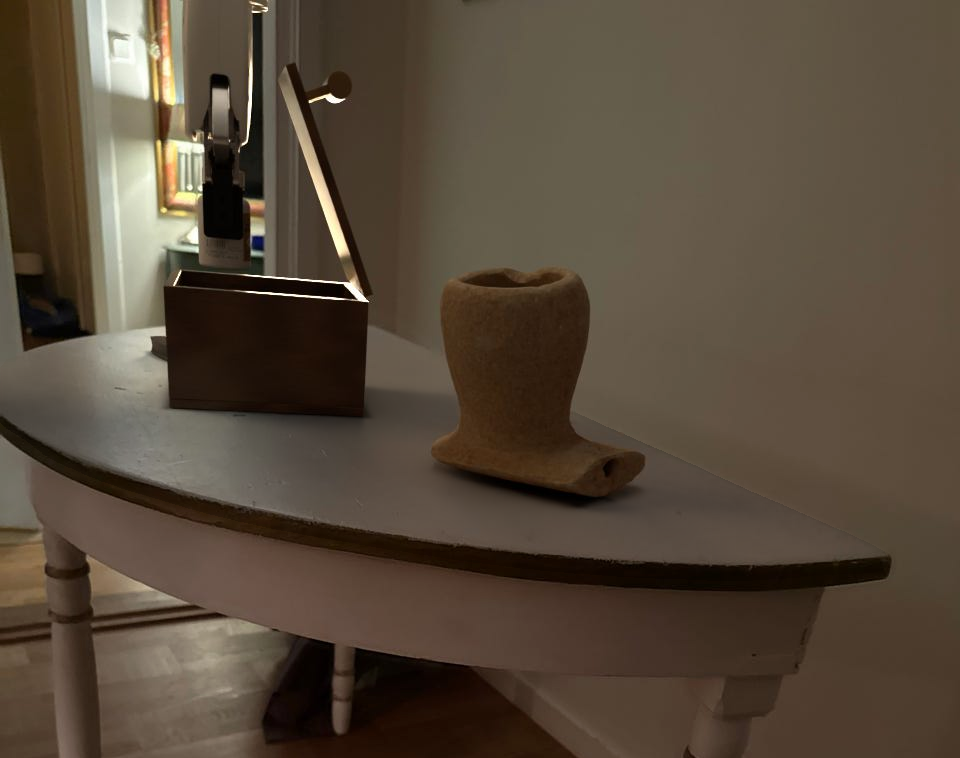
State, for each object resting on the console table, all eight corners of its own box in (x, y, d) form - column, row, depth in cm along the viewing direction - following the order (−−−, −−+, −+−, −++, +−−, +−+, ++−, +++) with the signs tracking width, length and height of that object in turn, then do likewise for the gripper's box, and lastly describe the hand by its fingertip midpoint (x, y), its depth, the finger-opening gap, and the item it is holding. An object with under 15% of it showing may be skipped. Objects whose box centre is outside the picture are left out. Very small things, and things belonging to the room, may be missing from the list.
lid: (285, 65, 68) (347, 44, 69) (277, 79, 80) (331, 61, 80) (364, 297, 77) (419, 278, 77) (347, 279, 89) (395, 262, 89)
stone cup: (394, 473, 67) (407, 253, 60) (475, 446, 76) (494, 253, 70) (580, 524, 61) (618, 285, 54) (644, 487, 70) (682, 280, 63)
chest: (169, 407, 77) (163, 285, 73) (177, 375, 89) (172, 268, 85) (363, 416, 82) (368, 301, 77) (347, 384, 93) (351, 283, 89)
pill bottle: (259, 272, 79) (258, 173, 76) (210, 269, 77) (207, 167, 73) (239, 265, 82) (238, 170, 79) (191, 263, 80) (188, 165, 76)
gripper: (173, -10, 77) (183, 226, 85) (159, -50, 62) (172, 239, 70) (264, 4, 79) (265, 233, 87) (272, -32, 64) (272, 248, 72)
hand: (223, 233), depth 78 cm, fingers closed on pill bottle, 4 cm apart
